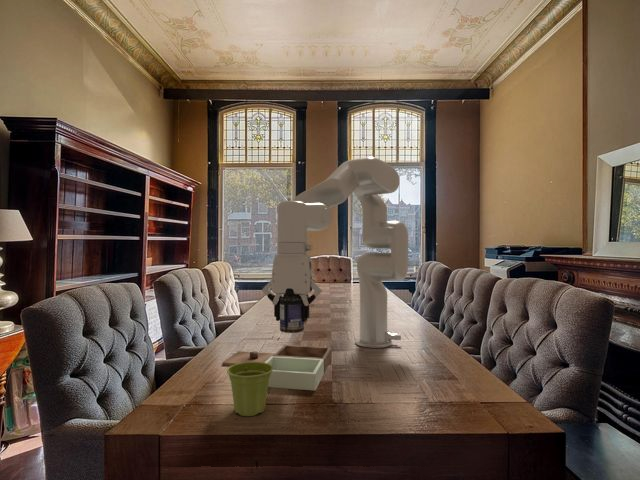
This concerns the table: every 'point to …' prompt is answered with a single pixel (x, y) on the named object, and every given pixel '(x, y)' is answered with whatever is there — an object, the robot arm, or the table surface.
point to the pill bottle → (291, 312)
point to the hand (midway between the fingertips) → (291, 319)
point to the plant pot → (249, 386)
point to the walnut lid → (247, 358)
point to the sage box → (295, 372)
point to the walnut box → (306, 353)
